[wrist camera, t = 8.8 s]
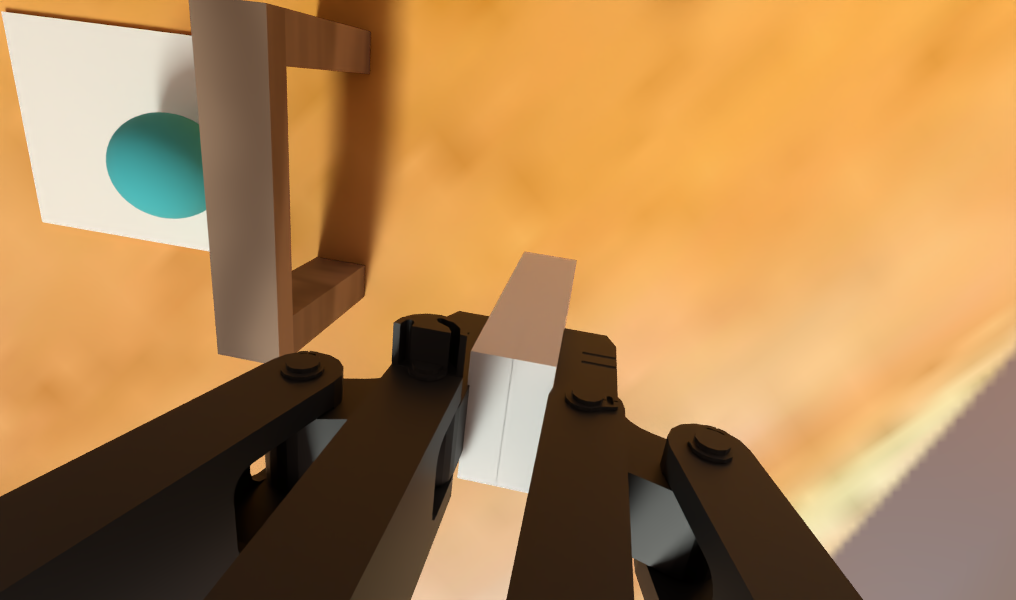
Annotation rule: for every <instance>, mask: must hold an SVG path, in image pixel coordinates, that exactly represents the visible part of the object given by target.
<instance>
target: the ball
mask: <svg viewBox="0 0 1016 600" xmlns="http://www.w3.org/2000/svg"><path fill="white" fill-rule="evenodd" d="M106 167H107V171H108V175H109V177H110V179H111V182H112V184H113V185H114V187H115V188H116V190H117V191H118V192H119V194H120V195H121V196H122V197H123V198H124V199H125V200H126V201H127V202H129V203H130V204H131V205H133V206H134V207H135V208H137V209H139V210H141V211H143V212H145V213H148V214H150V215H153V216H157V217H161V218H170V219H180V218H187V217H191V216H194V215H197V214H200V213H202V212H204V211H205V210H206V202H205V190H204V178H203V166H202V154H201V142H200V129H199V124H198V123H196V122H195V121H193V120H191V119H188V118H186V117H184V116H181V115H177V114H172V113H165V112H152V113H146V114H142V115H139V116H136V117H134V118H132V119H130V120H128V121H126V122H125V123H123V124H122V125H121V126H120V127H119V128H118V129H117V130H116V131H115V133H114V134H113V135H112V137H111V139H110V141H109V144H108V147H107V151H106Z"/></svg>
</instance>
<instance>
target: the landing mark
mask: <svg viewBox="0 0 1016 600" xmlns="http://www.w3.org/2000/svg"><path fill="white" fill-rule="evenodd" d="M1 12H2V11H1ZM2 17H3V22H4V28H5V33H6V38H7V43H8V48H9V53H10V58H11V63H12V69H13V74H14V79H15V84H16V89H17V94H18V99H19V105H20V110H21V115H22V120H23V125H24V130H25V135H26V140H27V146H28V151H29V156H30V161H31V166H32V171H33V176H34V181H35V187H36V192H37V197H38V202H39V207H40V212H41V217H42V222H45V223H51V224H57V225H62V226H68V227H74V228H79V229H85V230H91V231H97V232H102V233H108V234H114V235H119V236H125V237H131V238H136V239H142V240H148V241H153V242H159V243H165V244H170V245H176V246H182V247H188V248H193V249H199V250H205V251H210V250H209V238H208V226H207V214H206V210H205V211H204V212H202V213H200V214H197V215H194V216H191V217H187V218H180V219H170V218H161V217H157V216H153V215H150V214H148V213H145V212H143V211H141V210H139V209H137V208H135V207H134V206H133V205H131V204H130V203H129V202H127V201H126V200H125V199H124V198H123V197H122V196H121V195H120V194H119V192H118V191H117V190H116V188H115V187H114V185H113V184H112V182H111V179H110V177H109V175H108V171H107V167H106V151H107V147H108V144H109V141H110V139H111V137H112V135H113V134H114V133H115V131H116V130H117V129H118V128H119V127H120V126H121V125H122V124H123V123H125V122H126V121H128V120H130V119H132V118H134V117H136V116H139V115H142V114H146V113H152V112H165V113H172V114H177V115H181V116H184V117H186V118H188V119H191V120H193V121H195V122H196V123H198V124H199V117H198V105H197V93H196V81H195V69H194V57H193V45H192V36H190V35H182V34H175V33H167V32H159V31H151V30H143V29H135V28H127V27H120V26H112V25H104V24H96V23H88V22H80V21H72V20H65V19H57V18H49V17H41V16H33V15H25V14H17V13H10V12H2Z"/></svg>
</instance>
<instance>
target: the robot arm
mask: <svg viewBox="0 0 1016 600" xmlns="http://www.w3.org/2000/svg"><path fill="white" fill-rule="evenodd" d="M576 262H577V260H572V259H566V258H560V257H554V256H548V255H542V254H536V253H529V252H524V253H523V255H522V257H521V259H520V261H519V262H518V264H517V266H516V268H515V270H514V272H513V274H512V275H511V277H510V279H509V281H508V283H507V285H506V287H505V288H504V290H503V292H502V294H501V296H500V298H499V300H498V301H497V303H496V305H495V307H494V309H493V311H492V313H491V314H490V316H484V315H478V314H473V313H467V312H462V311H458V312H456V313H454V314H452V315H449V316H447V317H446V316H442V315H435V314H414V315H410V316H406V317H402V318H400V319H398V320H397V321H395V322H394V326H393V347H392V364H391V366H390V367H389V368H388V369H387V371H386V372H385V373H384V374H383V376H382V377H381V378H375V379H343V366H342V364H341V363H340V361H339V360H338V359H336V358H334V357H332V356H330V355H327V354H322V353H318V352H313V351H310V352H308V351H299V352H297V353H291V354H285V355H283V356H280V357H277V358H274V359H272V360H270V361H268V362H266V363H264V364H262V365H260V366H258V367H256V368H254V369H252V370H250V371H248V372H246V373H244V374H242V375H240V376H238V377H236V378H234V379H232V380H230V381H228V382H227V383H225V384H223V385H221V386H219V387H217V388H215V389H213V390H211V391H209V392H207V393H205V394H203V395H201V396H199V397H197V398H195V399H193V400H191V401H189V402H187V403H185V404H183V405H181V406H179V407H177V408H175V409H173V410H171V411H169V412H167V413H165V414H163V415H161V416H159V417H157V418H155V419H153V420H151V421H149V422H147V423H145V424H143V425H141V426H139V427H137V428H135V429H133V430H131V431H129V432H127V433H125V434H124V435H122V436H120V437H118V438H116V439H114V440H112V441H110V442H108V443H106V444H104V445H102V446H100V447H98V448H96V449H94V450H92V451H90V452H88V453H86V454H84V455H82V456H80V457H78V458H76V459H74V460H72V461H70V462H68V463H66V464H64V465H62V466H60V467H58V468H56V469H54V470H52V471H50V472H48V473H46V474H44V475H42V476H40V477H38V478H36V479H34V480H32V481H30V482H28V483H26V484H24V485H22V486H20V487H19V488H17V489H15V490H13V491H11V492H9V493H7V494H5V495H3V496H1V497H0V600H411V597H412V595H413V592H414V590H415V587H416V585H417V582H418V579H419V577H420V574H421V572H422V569H423V567H424V564H425V561H426V559H427V556H428V554H429V551H430V549H431V546H432V543H433V541H434V538H435V536H436V533H437V531H438V528H439V525H440V523H441V520H442V518H443V515H444V513H445V510H446V507H447V505H448V502H449V500H450V497H451V490H452V480H453V473H454V471H455V468H456V466H457V463H458V461H459V468H458V477H457V478H460V479H465V480H470V481H474V482H479V483H484V484H488V485H493V486H498V487H502V488H507V489H512V490H516V491H521V492H525V493H528V497H527V502H526V507H525V512H524V516H523V521H522V526H521V531H520V536H519V541H518V546H517V551H516V555H515V560H514V565H513V570H512V575H511V580H510V585H509V590H508V594H507V599H506V600H634V587H633V567H632V558H634V566H635V573H636V576H637V579H638V582H639V585H640V588H641V591H642V594H643V597H644V600H863V599H862V598H861V596H860V595H859V594H858V592H857V591H856V590H855V588H854V587H853V586H852V584H851V583H850V582H849V580H848V579H847V578H846V577H845V575H844V574H843V573H842V571H841V570H840V568H839V567H838V566H837V565H836V563H835V562H834V561H833V559H832V558H831V557H830V555H829V554H828V553H827V551H826V550H825V549H824V547H823V546H822V545H821V543H820V542H819V541H818V539H817V538H816V537H815V535H814V534H813V533H812V531H811V530H810V529H809V527H808V526H807V525H806V524H805V522H804V521H803V520H802V518H801V517H800V516H799V514H798V513H797V512H796V510H795V509H794V508H793V506H792V505H791V504H790V502H789V501H788V500H787V498H786V497H785V496H784V494H783V493H782V492H781V490H780V489H779V488H778V487H777V485H776V484H775V483H774V481H773V480H772V479H771V477H770V476H769V475H768V473H767V472H766V471H765V469H764V468H763V467H762V465H761V464H760V463H759V461H758V460H757V459H756V457H755V456H754V455H753V453H752V452H751V451H750V450H749V449H748V448H747V447H746V446H745V445H744V444H743V443H742V442H741V441H740V440H738V439H736V438H735V437H733V436H731V435H730V434H728V433H727V432H725V431H723V430H721V429H716V427H712V426H708V425H699V424H681V425H679V426H676V427H674V428H672V429H671V431H670V432H669V434H668V436H667V439H665V438H662V437H660V436H657V435H655V434H652V433H650V432H648V431H646V430H643V429H641V428H639V427H638V426H636V425H635V424H633V423H632V422H630V421H629V420H628V419H627V418H626V417H625V408H624V405H623V403H622V401H621V400H620V399H619V398H618V394H617V369H616V368H617V363H616V346H615V345H614V344H613V343H612V342H611V340H610V339H609V338H608V337H607V336H605V335H599V334H594V333H588V332H582V331H577V330H571V329H566V328H565V325H566V319H567V314H568V308H569V302H570V296H571V290H572V285H573V279H574V273H575V267H576ZM264 455H265V462H266V468H265V469H263V470H262V471H261V472H259V473H258V474H256V475H253V476H251V474H250V465H251V464H252V463H253V462H255V461H256V460H258V459H259V458H261V457H262V456H264Z"/></svg>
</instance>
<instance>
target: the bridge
mask: <svg viewBox="0 0 1016 600" xmlns="http://www.w3.org/2000/svg"><path fill="white" fill-rule="evenodd" d="M189 9H190V21H191V33H192V45H193V57H194V69H195V81H196V93H197V105H198V117H199V129H200V142H201V154H202V166H203V178H204V190H205V202H206V214H207V226H208V238H209V250H210V262H211V274H212V286H213V299H214V311H215V323H216V335H217V347H218V354H221V355H226V356H231V357H236V358H241V359H246V360H251V361H256V362H261V363H266V362H268V361H270V360H272V359H274V358H277V357H280V356H283V355H285V354H291V353H296V352H298V351H299V350H300V349H301V348H302V347H304V346H305V345H306V344H307V343H309V342H310V341H311V340H312V339H313V338H315V337H316V336H317V335H318V334H319V333H321V332H322V331H323V330H324V329H326V328H327V327H328V326H329V325H330V324H332V323H333V322H334V321H335V320H336V319H338V318H339V317H340V316H341V315H343V314H344V313H345V312H346V311H347V310H349V309H350V308H351V307H352V306H353V305H355V304H356V303H357V302H358V301H360V300H361V299H362V298H363V297H364V279H365V265H360V264H354V263H348V262H342V261H336V260H331V259H325V258H319V257H316V258H315V259H313V260H311V261H309V262H307V263H306V264H304V265H302V266H300V267H298V268H296V269H295V270H293V271H292V267H291V228H290V190H289V152H288V114H287V76H286V66H288V67H299V68H310V69H321V70H331V71H342V72H353V73H364V74H370V41H371V32H370V31H367V30H363V29H359V28H355V27H352V26H348V25H344V24H341V23H337V22H333V21H330V20H326V19H322V18H319V17H315V16H311V15H308V14H304V13H300V12H297V11H293V10H289V9H286V8H282V7H278V6H275V5H271V4H267V3H260V2H252V1H243V0H189Z"/></svg>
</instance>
